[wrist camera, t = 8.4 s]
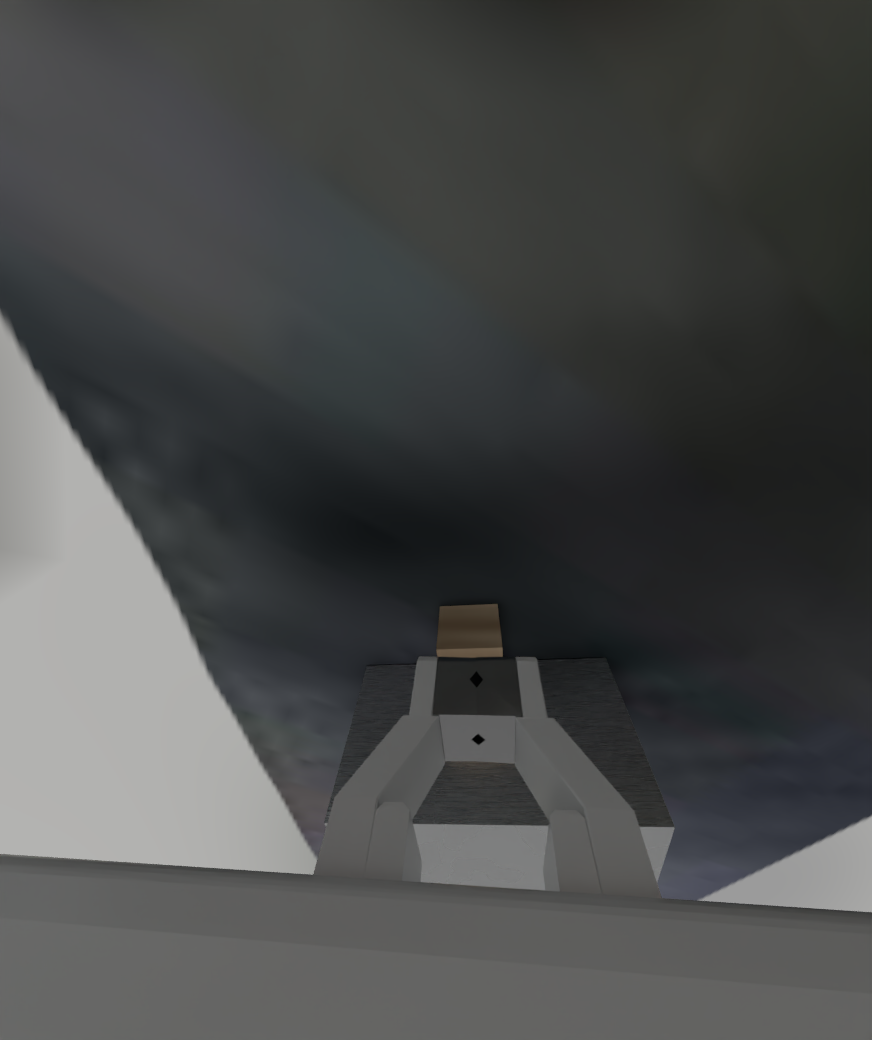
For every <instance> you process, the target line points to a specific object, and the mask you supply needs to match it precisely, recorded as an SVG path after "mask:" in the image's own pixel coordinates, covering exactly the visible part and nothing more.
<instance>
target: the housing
mask: <svg viewBox="0 0 872 1040" xmlns="http://www.w3.org/2000/svg"><path fill="white" fill-rule="evenodd" d="M537 661H538V667H539V672H540V678H541V683H542V689H543V694H544V700H545V705H546V711H547V716H548V718H555V720H556V721H557V722H558V723H559V724H560V725H561V727H562V728H563V729H564V730H565V731H566V732H567V734H568V735H569V736H570V737H571V738H572V739H573V741H574V742H575V743H576V744H577V745H578V746H579V747H580V749H581V750H582V751H583V752H584V753H585V754H586V756H587V757H588V758H589V759H590V760H591V761H592V763H593V764H594V765H595V766H596V767H597V768H598V770H599V771H600V772H601V773H602V774H603V775H604V776H605V778H606V779H607V780H608V781H609V782H610V783H611V785H612V786H613V787H614V788H615V789H616V790H617V792H618V793H619V794H620V795H621V796H622V797H623V799H624V800H625V801H626V802H627V803H628V804H629V805H630V807H631V808H632V809H633V810H634V811H635V815H636V818H637V821H638V824H639V827H640V830H641V834H642V837H643V840H644V843H645V846H646V850H647V853H648V856H649V859H650V862H651V866H652V869H653V872H654V875H655V878H656V881H658V878H659V875H660V872H661V869H662V866H663V863H664V859H665V856H666V853H667V850H668V847H669V844H670V841H671V838H672V835H673V831H674V828H675V826H674V824H673V822H672V819H671V817H670V814H669V812H668V809H667V807H666V804H665V802H664V799H663V797H662V795H661V792H660V790H659V787H658V785H657V782H656V780H655V777H654V775H653V772H652V770H651V768H650V765H649V763H648V760H647V758H646V755H645V753H644V750H643V748H642V745H641V743H640V741H639V738H638V736H637V733H636V731H635V728H634V726H633V723H632V721H631V718H630V716H629V714H628V711H627V709H626V706H625V704H624V701H623V699H622V696H621V694H620V691H619V689H618V687H617V684H616V682H615V679H614V677H613V674H612V672H611V669H610V667H609V665H608V662H607V660H606V658H585V659H556V660H537ZM415 671H416V664H407V665H378V666H367V668H366V671H365V675H364V679H363V682H362V686H361V690H360V693H359V697H358V701H357V704H356V708H355V712H354V715H353V719H352V723H351V726H350V730H349V734H348V737H347V741H346V745H345V748H344V752H343V756H342V759H341V763H340V767H339V770H338V774H337V778H336V781H335V785H334V789H333V792H332V796H331V800H330V803H329V807H328V811H327V814H326V818H325V822H324V824H325V826H326V827H327V823H328V820H329V816H330V812H331V809H332V805H333V801H334V798H335V796H336V795H337V794H338V792H339V791H340V790H341V789H342V788H343V786H344V785H345V784H346V783H347V782H348V780H349V779H350V778H351V777H352V776H353V774H354V773H355V772H356V771H357V770H358V769H359V767H360V766H361V765H362V764H363V763H364V761H365V760H366V759H367V758H368V757H369V755H370V754H371V753H372V752H373V751H374V749H375V748H376V747H377V746H378V745H379V743H380V742H381V741H382V740H383V739H384V737H385V736H386V735H387V734H388V733H389V731H390V730H391V729H392V728H393V727H394V725H395V724H396V723H397V722H398V721H399V719H400V718H401V717H402V716H403V715H409V712H410V705H411V698H412V691H413V684H414V678H415ZM412 822H413V826H414V830H415V834H416V838H417V843H418V847H419V851H420V855H421V859H422V870H421V882H427V883H442V884H456V885H471V886H486V887H501V888H516V889H531V890H545V882H544V874H543V865H544V857H545V849H546V841H547V834H548V826H549V821H548V819H547V817H546V816H545V814H544V812H543V811H542V809H541V807H540V806H539V804H538V802H537V801H536V799H535V798H534V796H533V794H532V793H531V791H530V789H529V788H528V786H527V784H526V783H525V781H524V779H523V778H522V776H521V775H520V773H519V771H518V770H517V768H516V766H515V764H514V763H497V762H481V761H480V759H479V761H445V765H444V766H443V768H442V770H441V771H440V773H439V775H438V777H437V778H436V780H435V782H434V783H433V785H432V787H431V789H430V790H429V792H428V794H427V795H426V797H425V799H424V801H423V802H422V804H421V806H420V807H419V809H418V811H417V812H416V814H415V816H414V818H413V819H412Z"/></svg>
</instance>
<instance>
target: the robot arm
mask: <svg viewBox="0 0 872 1040" xmlns="http://www.w3.org/2000/svg"><path fill="white" fill-rule="evenodd" d="M479 759H480V761H481V762H497V763H514V764H515V766H516V768H517V770H518V771H519V773H520V775H521V776H522V778H523V779H524V781H525V783H526V784H527V786H528V788H529V789H530V791H531V793H532V794H533V796H534V798H535V799H536V801H537V802H538V804H539V806H540V807H541V809H542V811H543V812H544V814H545V816H546V817H547V819H548V821H549V826H548V834H547V841H546V849H545V857H544V865H543V874H544V882H545V890H531V889H516V888H501V887H486V886H471V885H456V884H442V883H427V882H421V870H422V859H421V855H420V851H419V847H418V843H417V838H416V834H415V830H414V826H413V822H412V819H413V818H414V816H415V814H416V812H417V811H418V809H419V807H420V806H421V804H422V802H423V801H424V799H425V797H426V795H427V794H428V792H429V790H430V789H431V787H432V785H433V783H434V782H435V780H436V778H437V777H438V775H439V773H440V771H441V770H442V768H443V766H444V765H445V761H479ZM0 1040H872V913H871V912H857V911H842V910H828V909H827V910H826V909H812V908H797V907H783V906H768V905H753V904H738V903H724V902H709V901H694V900H679V899H664V898H662V897H661V894H660V891H659V888H658V885H657V881H656V878H655V875H654V872H653V869H652V866H651V862H650V859H649V856H648V853H647V850H646V846H645V843H644V840H643V837H642V834H641V830H640V827H639V824H638V821H637V818H636V815H635V811H634V810H633V809H632V808H631V807H630V805H629V804H628V803H627V802H626V801H625V800H624V799H623V797H622V796H621V795H620V794H619V793H618V792H617V790H616V789H615V788H614V787H613V786H612V785H611V783H610V782H609V781H608V780H607V779H606V778H605V776H604V775H603V774H602V773H601V772H600V771H599V770H598V768H597V767H596V766H595V765H594V764H593V763H592V761H591V760H590V759H589V758H588V757H587V756H586V754H585V753H584V752H583V751H582V750H581V749H580V747H579V746H578V745H577V744H576V743H575V742H574V741H573V739H572V738H571V737H570V736H569V735H568V734H567V732H566V731H565V730H564V729H563V728H562V727H561V725H560V724H559V723H558V722H557V721H556V720H555V718H548V716H547V711H546V705H545V700H544V694H543V689H542V683H541V678H540V672H539V667H538V661H537V659H536V657H476V658H469V657H426V656H419V658H418V660H417V664H416V671H415V678H414V684H413V691H412V698H411V705H410V712H409V715H403V716H402V717H401V718H400V719H399V721H398V722H397V723H396V724H395V725H394V727H393V728H392V729H391V730H390V731H389V733H388V734H387V735H386V736H385V737H384V739H383V740H382V741H381V742H380V743H379V745H378V746H377V747H376V748H375V749H374V751H373V752H372V753H371V754H370V755H369V757H368V758H367V759H366V760H365V761H364V763H363V764H362V765H361V766H360V767H359V769H358V770H357V771H356V772H355V773H354V774H353V776H352V777H351V778H350V779H349V780H348V782H347V783H346V784H345V785H344V786H343V788H342V789H341V790H340V791H339V792H338V794H337V795H336V796H335V798H334V801H333V805H332V809H331V812H330V816H329V820H328V823H327V827H326V831H325V834H324V838H323V841H322V845H321V849H320V852H319V856H318V860H317V863H316V867H315V871H314V874H313V875H307V874H292V873H278V872H263V871H262V872H261V871H248V870H233V869H218V868H202V867H188V866H173V865H157V864H142V863H128V862H113V861H98V860H82V859H68V858H53V857H38V856H23V855H22V856H21V855H7V854H0Z"/></svg>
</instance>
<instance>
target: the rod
mask: <svg viewBox="0 0 872 1040" xmlns="http://www.w3.org/2000/svg"><path fill="white" fill-rule="evenodd" d="M436 650H437V657H469V658H476V657H503V648H502V639H501V630H500V622H499V613H498V604H485V605H461V606H440V612H439V624H438V636H437V649H436Z"/></svg>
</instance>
